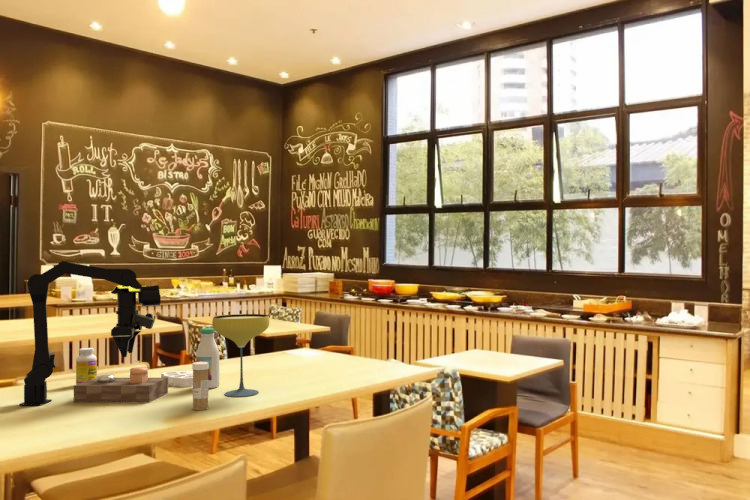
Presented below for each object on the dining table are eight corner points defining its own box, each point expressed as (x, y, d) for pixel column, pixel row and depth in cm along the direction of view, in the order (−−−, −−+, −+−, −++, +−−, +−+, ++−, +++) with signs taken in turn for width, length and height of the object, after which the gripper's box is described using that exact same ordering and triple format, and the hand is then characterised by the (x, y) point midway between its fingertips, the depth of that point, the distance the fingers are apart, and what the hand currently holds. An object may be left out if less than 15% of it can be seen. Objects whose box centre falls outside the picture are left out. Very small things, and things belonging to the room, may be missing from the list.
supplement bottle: (88, 387, 213) (88, 350, 213) (71, 386, 214) (71, 349, 215) (100, 383, 219) (100, 347, 220) (84, 383, 221) (84, 347, 221)
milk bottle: (210, 383, 216) (210, 326, 217) (224, 386, 211) (223, 328, 212) (191, 387, 210) (191, 328, 211) (205, 390, 205) (204, 330, 206)
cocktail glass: (210, 390, 204) (209, 315, 205) (264, 386, 210) (263, 313, 211) (216, 401, 187) (215, 319, 188) (275, 396, 193) (274, 317, 194)
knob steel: (109, 394, 193) (109, 377, 193) (93, 394, 193) (93, 377, 193) (117, 391, 198) (117, 374, 198) (101, 391, 198) (101, 374, 199)
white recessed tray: (214, 383, 219) (176, 390, 208) (188, 377, 231) (151, 383, 220) (214, 374, 219) (176, 380, 208) (188, 368, 231) (151, 374, 220)
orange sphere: (143, 387, 192) (143, 369, 192) (127, 387, 193) (127, 369, 193) (150, 383, 197) (150, 367, 198) (134, 383, 198) (134, 367, 198)
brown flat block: (149, 402, 187) (149, 386, 188) (73, 402, 189) (73, 386, 189) (167, 392, 201) (167, 377, 202) (97, 392, 203) (97, 377, 203)
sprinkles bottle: (189, 409, 178) (189, 362, 178) (203, 406, 181) (202, 360, 182) (198, 411, 175) (198, 364, 175) (212, 408, 178) (211, 362, 179)
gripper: (147, 308, 193) (148, 358, 192) (157, 304, 211) (157, 349, 211) (110, 309, 191) (111, 359, 190) (122, 305, 209) (123, 351, 209)
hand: (127, 355), depth 200 cm, fingers open, 9 cm apart
